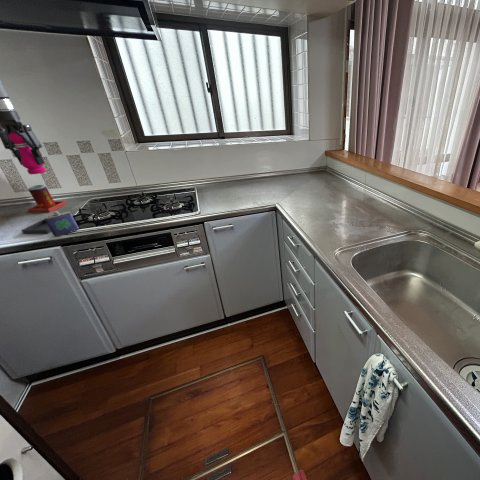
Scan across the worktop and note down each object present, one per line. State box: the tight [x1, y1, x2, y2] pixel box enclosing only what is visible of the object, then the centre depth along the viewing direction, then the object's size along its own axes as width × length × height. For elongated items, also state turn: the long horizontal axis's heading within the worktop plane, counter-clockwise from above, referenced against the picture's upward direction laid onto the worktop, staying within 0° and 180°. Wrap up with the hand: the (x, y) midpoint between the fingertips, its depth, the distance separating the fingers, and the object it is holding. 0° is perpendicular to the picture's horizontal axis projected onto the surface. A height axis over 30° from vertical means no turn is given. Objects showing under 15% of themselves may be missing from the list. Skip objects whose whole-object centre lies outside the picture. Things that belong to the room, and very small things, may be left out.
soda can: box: [28, 184, 55, 209], centre depth 145 cm, size 7×7×12 cm
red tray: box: [26, 200, 67, 214], centre depth 148 cm, size 11×11×2 cm
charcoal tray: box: [21, 219, 52, 235], centre depth 127 cm, size 11×11×2 cm
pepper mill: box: [8, 132, 47, 175], centre depth 123 cm, size 7×7×20 cm
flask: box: [43, 210, 80, 238], centre depth 121 cm, size 9×3×11 cm, turn 144°
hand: (33, 164), depth 126 cm, fingers closed on pepper mill, 7 cm apart
